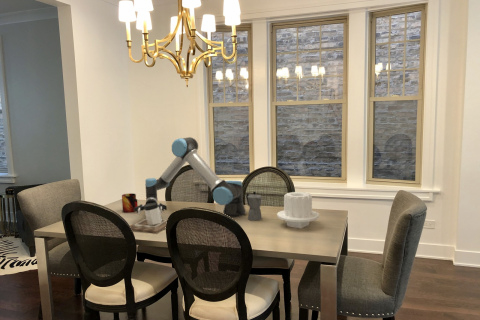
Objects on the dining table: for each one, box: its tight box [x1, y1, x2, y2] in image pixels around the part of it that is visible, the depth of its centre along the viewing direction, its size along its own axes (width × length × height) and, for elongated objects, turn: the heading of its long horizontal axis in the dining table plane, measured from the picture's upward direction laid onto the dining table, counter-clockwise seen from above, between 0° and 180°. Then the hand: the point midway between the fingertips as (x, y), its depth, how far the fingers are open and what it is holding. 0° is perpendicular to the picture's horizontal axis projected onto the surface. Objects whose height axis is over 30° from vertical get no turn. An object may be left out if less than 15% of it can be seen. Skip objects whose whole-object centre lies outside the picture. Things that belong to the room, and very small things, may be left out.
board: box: [129, 217, 168, 234], centre depth 233 cm, size 22×22×3 cm
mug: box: [121, 192, 139, 214], centre depth 272 cm, size 10×14×12 cm
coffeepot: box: [245, 191, 263, 222], centre depth 245 cm, size 15×9×18 cm, turn 33°
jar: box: [144, 202, 162, 225], centre depth 232 cm, size 9×8×12 cm
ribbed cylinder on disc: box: [276, 191, 320, 229], centre depth 228 cm, size 25×25×19 cm
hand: (150, 211), depth 236 cm, fingers open, 13 cm apart
